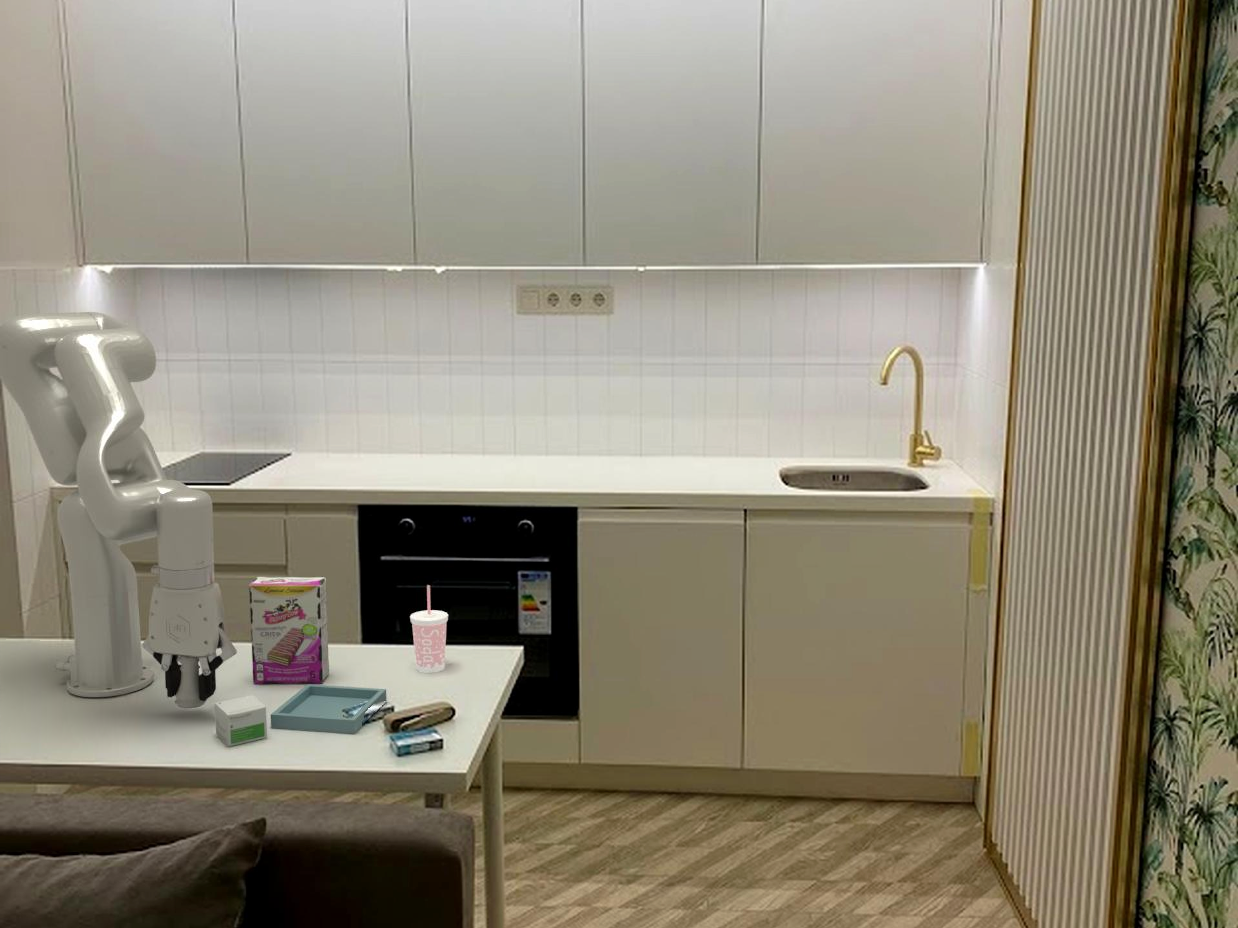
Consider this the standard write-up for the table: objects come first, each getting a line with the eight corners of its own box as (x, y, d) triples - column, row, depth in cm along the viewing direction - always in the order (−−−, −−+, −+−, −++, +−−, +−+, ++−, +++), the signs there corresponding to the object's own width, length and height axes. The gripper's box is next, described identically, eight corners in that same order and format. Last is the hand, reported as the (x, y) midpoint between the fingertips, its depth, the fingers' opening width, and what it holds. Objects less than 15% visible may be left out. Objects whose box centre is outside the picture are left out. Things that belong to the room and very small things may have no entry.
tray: (271, 727, 171) (270, 714, 170) (308, 696, 183) (307, 684, 183) (354, 733, 169) (354, 720, 168) (386, 701, 181) (386, 689, 181)
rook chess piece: (193, 695, 178) (191, 644, 177) (213, 701, 176) (212, 650, 175) (168, 704, 175) (166, 652, 173) (189, 711, 173) (187, 659, 171)
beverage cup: (405, 672, 194) (403, 589, 191) (419, 660, 200) (417, 579, 197) (441, 675, 192) (439, 591, 190) (454, 663, 198) (453, 581, 196)
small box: (228, 748, 164) (226, 714, 163) (215, 735, 168) (213, 701, 168) (269, 738, 167) (267, 705, 166) (254, 726, 172) (253, 693, 171)
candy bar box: (252, 685, 188) (247, 584, 185) (260, 674, 193) (255, 575, 190) (324, 684, 188) (319, 583, 185) (330, 673, 193) (326, 575, 190)
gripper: (118, 578, 169) (123, 699, 173) (229, 588, 167) (232, 711, 170) (147, 564, 177) (151, 681, 180) (253, 573, 174) (256, 691, 178)
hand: (191, 694), depth 175 cm, fingers closed on rook chess piece, 4 cm apart
